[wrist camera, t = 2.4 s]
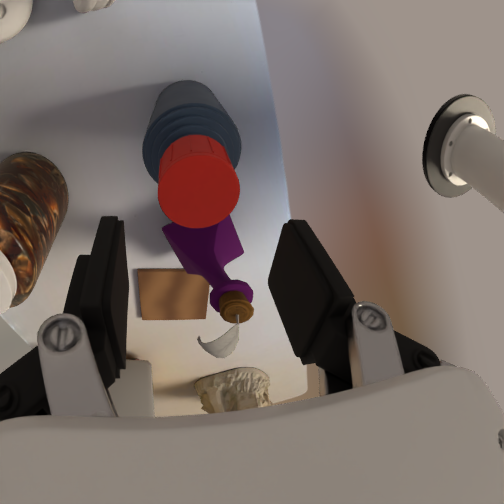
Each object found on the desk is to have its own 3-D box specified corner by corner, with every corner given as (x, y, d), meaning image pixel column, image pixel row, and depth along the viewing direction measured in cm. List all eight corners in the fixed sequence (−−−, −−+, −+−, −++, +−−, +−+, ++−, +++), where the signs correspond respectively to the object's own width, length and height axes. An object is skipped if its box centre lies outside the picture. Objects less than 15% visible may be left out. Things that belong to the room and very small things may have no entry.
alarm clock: (66, 342, 46) (55, 439, 32) (151, 350, 51) (158, 448, 37) (82, 391, 56) (80, 467, 42) (149, 397, 62) (156, 472, 48)
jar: (-9, 144, 24) (-83, 214, 12) (75, 160, 29) (24, 241, 17) (-9, 228, 30) (-56, 312, 18) (65, 245, 34) (35, 339, 23)
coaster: (210, 268, 42) (211, 271, 42) (205, 316, 48) (205, 319, 48) (137, 268, 40) (137, 271, 39) (142, 317, 45) (142, 320, 45)
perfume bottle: (220, 189, 35) (257, 307, 22) (239, 237, 40) (278, 355, 27) (161, 212, 35) (162, 339, 22) (185, 257, 40) (201, 380, 27)
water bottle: (221, 83, 28) (275, 132, 14) (212, 140, 31) (250, 243, 17) (157, 78, 26) (133, 122, 12) (152, 137, 30) (133, 242, 16)
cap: (233, 137, 16) (246, 158, 14) (224, 198, 18) (233, 229, 16) (162, 132, 15) (159, 153, 13) (158, 196, 17) (156, 228, 15)
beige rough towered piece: (189, 378, 59) (203, 446, 48) (266, 359, 61) (289, 424, 51) (205, 402, 70) (218, 457, 59) (269, 385, 72) (287, 439, 61)
